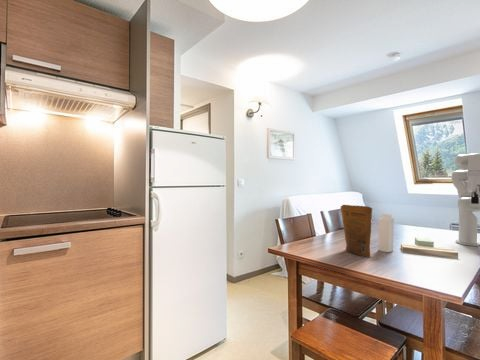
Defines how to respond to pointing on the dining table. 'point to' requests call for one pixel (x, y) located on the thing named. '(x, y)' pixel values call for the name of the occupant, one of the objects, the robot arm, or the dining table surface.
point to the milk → (386, 233)
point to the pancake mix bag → (357, 229)
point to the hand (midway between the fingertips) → (474, 203)
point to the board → (429, 250)
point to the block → (424, 242)
